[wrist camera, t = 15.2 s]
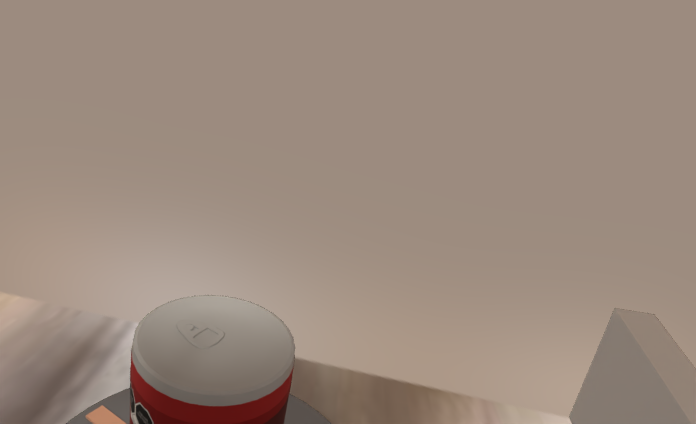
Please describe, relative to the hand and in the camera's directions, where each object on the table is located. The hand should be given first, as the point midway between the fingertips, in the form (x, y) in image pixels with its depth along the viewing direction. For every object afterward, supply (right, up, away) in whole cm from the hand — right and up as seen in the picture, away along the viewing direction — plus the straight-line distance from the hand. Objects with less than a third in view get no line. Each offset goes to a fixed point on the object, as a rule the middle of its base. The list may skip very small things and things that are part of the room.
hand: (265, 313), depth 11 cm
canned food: (-7, -14, +21) cm, 27 cm away
